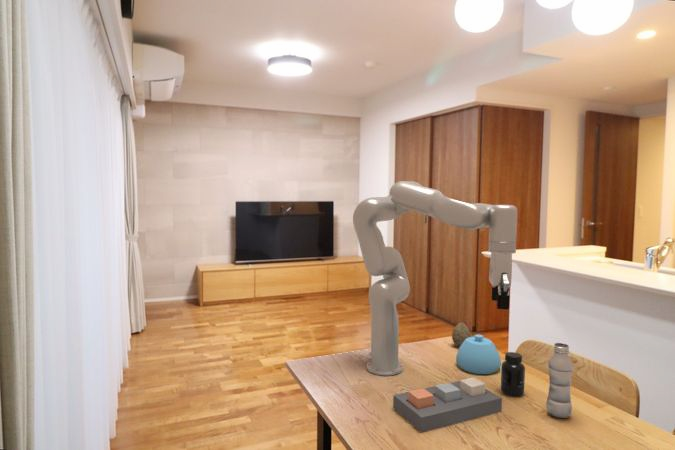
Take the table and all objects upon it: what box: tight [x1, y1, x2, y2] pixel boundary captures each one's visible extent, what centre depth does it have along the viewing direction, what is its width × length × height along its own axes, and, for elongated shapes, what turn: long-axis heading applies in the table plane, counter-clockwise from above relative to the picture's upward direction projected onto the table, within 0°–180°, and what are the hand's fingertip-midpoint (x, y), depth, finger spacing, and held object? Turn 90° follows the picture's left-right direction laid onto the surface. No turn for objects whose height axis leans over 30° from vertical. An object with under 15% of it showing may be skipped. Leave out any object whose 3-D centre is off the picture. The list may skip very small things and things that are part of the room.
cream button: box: [459, 377, 486, 397], centre depth 132 cm, size 5×5×4 cm
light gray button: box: [434, 382, 460, 403], centre depth 129 cm, size 5×5×4 cm
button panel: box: [392, 380, 503, 433], centre depth 129 cm, size 14×27×4 cm, turn 114°
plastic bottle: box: [545, 342, 574, 419], centre depth 125 cm, size 6×7×20 cm
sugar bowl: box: [455, 333, 502, 375], centre depth 160 cm, size 15×15×12 cm
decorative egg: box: [451, 321, 472, 348], centre depth 180 cm, size 7×7×10 cm
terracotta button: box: [407, 387, 434, 409], centre depth 125 cm, size 5×5×4 cm
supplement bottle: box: [500, 351, 526, 398], centre depth 140 cm, size 7×7×12 cm
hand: (499, 304), depth 134 cm, fingers open, 9 cm apart
